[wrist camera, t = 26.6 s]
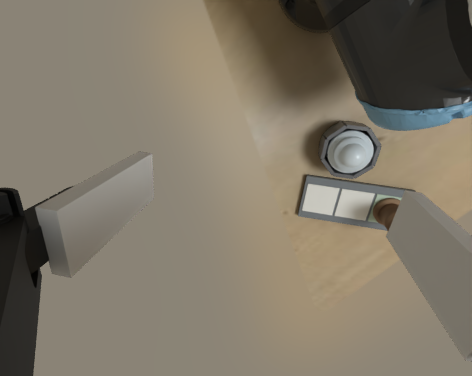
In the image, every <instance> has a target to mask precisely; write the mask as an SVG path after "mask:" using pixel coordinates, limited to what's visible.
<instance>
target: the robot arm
mask: <svg viewBox="0 0 472 376" xmlns="http://www.w3.org/2000/svg"><path fill="white" fill-rule="evenodd" d="M279 2H280V5H281V7H282V9H283V11H284V13H285V14H286V16H287V17H288V18H289V19H290V20H291V21H292V22H293V23H294V24H295V25H297V26H298V27H300V28H302V29H304V30H307V31H311V32H328V31H329V33H330V35H331V37H332V40H333V42H334V44H335V46H336V49H337V51H338V53H339V55H340V57H341V60H342V62H343V64H344V66H345V69H346V71H347V73H348V75H349V77H350V80H351V82H352V84H353V86H354V89H355V95H356V98H357V100H358V101H359V102H360V103H361V104H362V105H363V107H364V109H365V111H366V113H367V115H368V117H369V119H370V120H371V121H372V122H373V123H374V124H376V125H377V126H379V127H381V128H384V129H389V130H397V131H407V130H419V129H426V128H431V127H436V126H440V125H444V124H447V123H449V122H450V121H451V120H452V119H456V118H465V117H468V116H470V115H472V0H279ZM152 162H153V161H152V153H147V152H137V153H135V154H133V155H131V156H129V157H128V158H126V159H124V160H122V161H120V162H118V163H116V164H115V165H113V166H111V167H109V168H107V169H105V170H103V171H101V172H100V173H98V174H96V175H94V176H92V177H90V178H88V179H87V180H85V181H83V182H81V183H79V184H77V185H75V186H72V187H69V188H66V189H64V190H63V191H61V192H59V193H58V194H55V195H53V196H51V197H50V198H49V199H46V200H44V201H42V202H40V203H38V204H36V205H34V206H32V207H30V208H28V209H27V210H25V211H24V210H23V207H22V203H21V200H20V196H19V193H18V191H17V190H15V189H13V188H0V376H33V369H34V359H35V348H36V336H37V324H38V313H39V302H40V289H41V279H42V275H41V271H40V267H41V266H43V265H44V264H45V263H46V262H47V261H49V264H50V268H51V272H52V274H55V275H61V276H65V277H70V278H72V277H73V276H74V275H75V274H76V273H77V272H78V271H79V270H80V269H81V268H82V267H83V266H84V265H85V264H86V263H87V262H88V261H89V260H90V259H91V258H92V257H93V256H94V255H95V254H96V253H98V251H100V250H101V249H102V248H103V247H104V246H105V245H106V244H107V243H108V242H109V241H110V240H111V239H112V238H113V237H114V236H115V235H116V234H117V233H118V232H119V231H120V230H121V229H122V228H123V227H125V225H127V223H128V222H130V221H131V220H132V219H133V218H134V217H135V216H136V215H137V214H138V213H139V212H140V211H141V210H142V209H143V208H144V207H145V206H146V205H147V204H148V203H149V202H150V201H151V200H153V199H154V189H153V188H154V186H153V163H152ZM386 237H387V239H388V240H389V242H390V244H391V245H392V247H393V248H394V250H395V251H396V253H397V255H398V256H399V258H400V259H401V261H402V262H403V264H404V265H405V267H406V269H407V270H408V272H409V273H410V275H411V276H412V278H413V280H414V281H415V283H416V284H417V285H418V287H419V289H420V291H421V292H422V294H423V295H424V297H425V298H426V300H427V301H428V303H429V305H430V306H431V308H432V309H433V311H434V312H435V314H436V316H437V317H438V319H439V320H440V322H441V323H442V325H443V326H444V328H445V330H446V331H447V333H448V334H449V336H450V337H451V339H452V341H453V342H454V343H455V345H456V347H457V348H458V350H459V351H460V353H461V355H462V356H463V357H464V359H465V360H467V361H471V362H472V235H470V234H469V233H468V232H467V231H466V230H465V229H463V228H462V227H461V226H460V225H459V224H458V223H456V222H455V221H454V220H453V219H452V218H450V217H449V216H448V215H447V214H446V213H445V212H443V211H442V210H441V209H440V208H439V207H438V206H436V205H435V204H434V203H433V202H432V201H430V200H429V199H428V198H427V197H426V196H425V195H423V194H422V193H419V192H413V191H406V190H405V191H404V194H403V196H402V199H401V201H400V204H399V206H398V209H397V211H396V214H395V216H394V219H393V221H392V224H391V226H390V228H389V231H388V233H387V236H386Z"/></svg>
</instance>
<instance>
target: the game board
mask: <svg viewBox="0 0 472 376" xmlns="http://www.w3.org/2000/svg"><path fill="white" fill-rule="evenodd" d="M405 190H406V191H413V192H416V191H415V190H409V189H402V188H395V187H389V186H382V185H375V184H368V183H361V182H354V181H347V180H341V179H334V178H327V177H320V176H313V175H307V176H306V180H305V185H304V189H303V193H302V198H301V202H300V207H299V211H298V216H301V217H307V218H313V219H319V220H325V221H332V222H338V223H344V224H350V225H356V226H362V227H368V228H374V229H380V230H386V231H388V230H387V229H386V227H385V226H384V225H381V224H380V223H378V222H377V221H376V219H375V218H374V216H373V208H374V206H375V205H376V203H378V202H379V201H380V200H382V199H385V198H396V199H399V200H400V201H401V199H402V196H403V194H404V191H405Z"/></svg>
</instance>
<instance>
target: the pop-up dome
mask: <svg viewBox="0 0 472 376" xmlns="http://www.w3.org/2000/svg"><path fill="white" fill-rule="evenodd" d="M373 151H374V150H373V144H372V142H371V140H370V138H369V137H368V136H366V135H365V134H364V133H362V132H361V131H358V130H355V129H346V130H344V131H342V132H341V133H339V134H338V135H336V136H335V137H333V138H332V139H330V140H329V142H328V146H327V150H326V156H327V159H328V161H329V162H330V164H331V166H332V167H333V168H334V169H336V170H337V171H340V172H343V173H353V172H357V171H359V170H361V169H363V168H364V167H365V166H366V165H367V164H368V163H369V162H370V160H371V158H372V156H373Z"/></svg>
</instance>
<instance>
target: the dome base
mask: <svg viewBox="0 0 472 376" xmlns="http://www.w3.org/2000/svg"><path fill="white" fill-rule="evenodd" d="M346 129H355V130H358V131H361V132H362V133H364V134H365V135H366V136H368V137H369V138H370V140H371V142H372V144H373V150H374V151H373V156H372V158H371V160H370V162H369V163H368V164H367V165H366V166H365V167H364V168H363V169H361V170H359V171H357V172H353V173H343V172H340V171H337V170H336V169H334V168H333V167H332V166H331V164H330V162H329V161H328V159H327V156H326V150H327V146H328V142H329V140H330V139H332V138H333V137H335V136H336V135H338V134H339V133H341V132H342V131H344V130H346ZM380 145H381V144H380V142H379V141H378V139H377V137H376V136H375V134H374V133H373V131H372V130H371V128H369V127H368V126H366V125H364V124H362V123H356V122H352V121H343V122H339V123H337V124H335V125H333V126H331V127H330V128H329V129H327V130H326V132H325V133H323V135H322V138H321V140H320V143H319V152H318V154H319V157H320V159H321V161H322V163H323V164H324V165H325V167H326V168H327V169H328V171H329V172H330V174H331V175H333V176H336V177H343V178H349V179H353V178H357V177H359V176H360V175H362V174H364V173H365V172H367V171H369V170H371V169H372V168H374V167H373V166H375V164H376V162H377V159H378V156H379V153H380V150H381V146H380Z"/></svg>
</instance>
